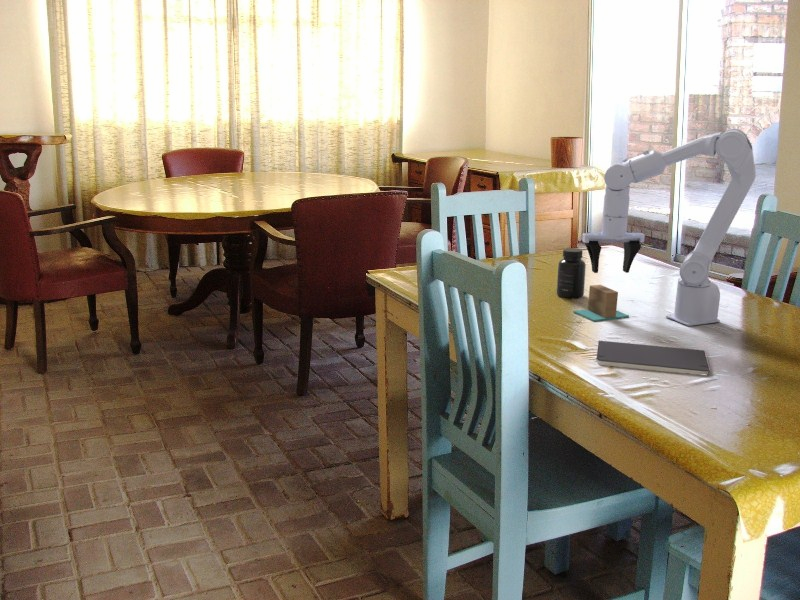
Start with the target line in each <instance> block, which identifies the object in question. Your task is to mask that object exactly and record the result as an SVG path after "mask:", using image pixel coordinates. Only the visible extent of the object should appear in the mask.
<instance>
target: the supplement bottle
mask: <svg viewBox="0 0 800 600" xmlns="http://www.w3.org/2000/svg"><path fill="white" fill-rule="evenodd" d="M583 252H584V251H583V249H581V248H575V247H568V248H564V249H563V250H562V259H560V260H559V262H558V265H557V279H556V295H557V296H558V297H560V298H562V299H566V300H567V299H568V300H577V299H578V300H579V299H581V298H583V297H584V296H585V295H584V293H585V283H586V281H585V279H586V262H585V261H584V260H583Z"/></svg>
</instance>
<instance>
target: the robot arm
mask: <svg viewBox="0 0 800 600" xmlns="http://www.w3.org/2000/svg"><path fill="white" fill-rule="evenodd" d="M753 151H754V149H753V145H752V143H751V141H750V139H749V137H748V136H747V134H746V133H745V132H744V131H743V130H741V129H738V128H731V129H728V130H726V131H724V132H723V133H722V131H720V132H716V133H710V134H707V135H704V136H701V137H698V138H696V139H693V140H691V141H688V142H686V143H683V144H681V145H678V146H676V147H673V148H672V149H669V150H667V151H664V152H660V151H658V150H655V149H653V150H649V149H648V148H647V149H645V150H643V151H642V154H640V155H637V156H634V157H632V158H629V159H628V158H627V157H625V158H623V159H622V162H619V163H614V164H613V165H612V166H610V167H609V168H607V170H606V171H605V173H604V177H603V179H604V183H605V193H604V197H603V209H602V210H603V211H602V220H601V221H602V222H601V231H597V232H583V233H582V238H581V239H582V240H581V241H582V242H583V243H584V246H585V248H586V250H587V251H588V252H587V253H588V256H589V259H590V264H591V272H592V273H594V274H598V272H599V266H600V265H599V263H600V262H599V261H600V256H601V251H602V246H601V245H600V243H623V263H622V272H624V273H626V274H627V273H629V272H630V270H631V266H632V265H633V261H634V260H635V257H637V254H638V252H639V251H640V250H641V248H642V244H641V243H645V237H646V235H645V234H644V233H642V232H627V230H628V229H627V228H628V219H629V209H630V199H631V198H630V188H631V187H630V185H631V184H632V183H633V184H638V183H640V182H644V181H647V180H649V179H652V178H654V177H657V176H659V175H663V174H664V172H665V169H666V167H667V166H670V165H672V164H677V163H679V162H682V161H685V160H687V159H690V158H695V157H697V156H700V155H704V156H709V157H714V156H715V155H716V154H717V155H718V157H719V158H720V159H721V160H722V161H723V163H725V164H726V166H727V169H728V171H729V175H730V177H731V179H730V181H729V182H728V184H727V187H726V188H725V190H724V192H723V194H722V196H721V198H720V200H719V202H718V204H717V206H716V207H715V209H714V211H713V213H712V216H711V217H710V219H709V220H708V223H707V225H706V227H705V229H704V230H703V233H702V234H701V236H700V238H699V240H698V242H697V244H696V245H695V247H694V249H693V250H692V251H691V252H690V253H688V254H686V255H685V257H684V259H683V262H682V264H681V265H680V268H679V276H680V278H678V279H677V283H676V285H677V286H676V294H675V295H676V296H675V304H674V313H670V314H665V318H667V319H670V320H672V321H675V322H677V323H680V324H683V325H685V326H687V327H692V326H699V325H706V324H707V325H708V324H714V323H719V322H720V319H718V316H719V307H720V301H721V292H720V288H719V286H718V285H717V284H716V283H715V282H713V281H711V280H710V279H709V275H710V272H711V269H712V266H713V264H712V263H713V262H712V261H713V259H714V258H715V255H716V253H717V251H718V249H719V248H720V245H721V243H722V241H723V240H724V238H725V235H727V232H728V230H729V228H730V227H731V224H732V223H733V221H734V219H735V217H736V216H737V213H738V212H739V210H740V208H741V206H742V204H743V203H744V200H745V199H746V197H747V195H748V192H750V189H751V187H752V185H753V183H754V182H755V180H756V177H757V172H756V165H755V158H754V152H753Z"/></svg>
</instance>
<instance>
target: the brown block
mask: <svg viewBox="0 0 800 600" xmlns="http://www.w3.org/2000/svg"><path fill="white" fill-rule="evenodd" d="M588 293H589V294H588V301H587V302H588V304H587V309H588V310H589V311H591V312H593V313H595V314H597V315H599V316H602V317H604V318H610V317H616V310H617V306H618V299H619V298H618V296H619V295H618V294H619V291H617V290H614V289H612V288H609V287H607V286H605V285H602V284H595V285H589V292H588Z"/></svg>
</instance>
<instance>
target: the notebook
mask: <svg viewBox="0 0 800 600" xmlns="http://www.w3.org/2000/svg"><path fill="white" fill-rule="evenodd" d="M596 351H597V352H596V360H595V361H596V363H597V365H601V366H610V367H618V368H630V369H637V370H639V369H640V370H648V371H658V372H667V373H668V372H669V373H676V372H679V373H678V374H686V373H690V374H689V375H696V374H708V373H709V372H710V366H709V363H708V358H707V355H706V351H705V350H703V349H692V348H681V347H673V346H672V347H671V346H670V347H669V346H659V345H650V344H640V343H628V342H619V341H609V340H608V341H607V340H598V342H597V350H596ZM708 371H709V372H708Z"/></svg>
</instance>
